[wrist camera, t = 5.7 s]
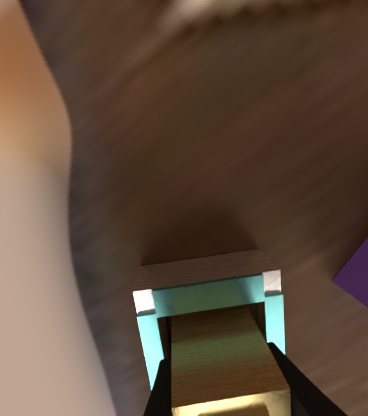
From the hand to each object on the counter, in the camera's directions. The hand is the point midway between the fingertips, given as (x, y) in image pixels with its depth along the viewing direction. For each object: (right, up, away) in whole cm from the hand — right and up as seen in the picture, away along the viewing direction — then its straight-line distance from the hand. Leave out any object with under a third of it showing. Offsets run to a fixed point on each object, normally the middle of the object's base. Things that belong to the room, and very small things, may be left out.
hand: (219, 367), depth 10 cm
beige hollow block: (0, 0, +3) cm, 3 cm away
